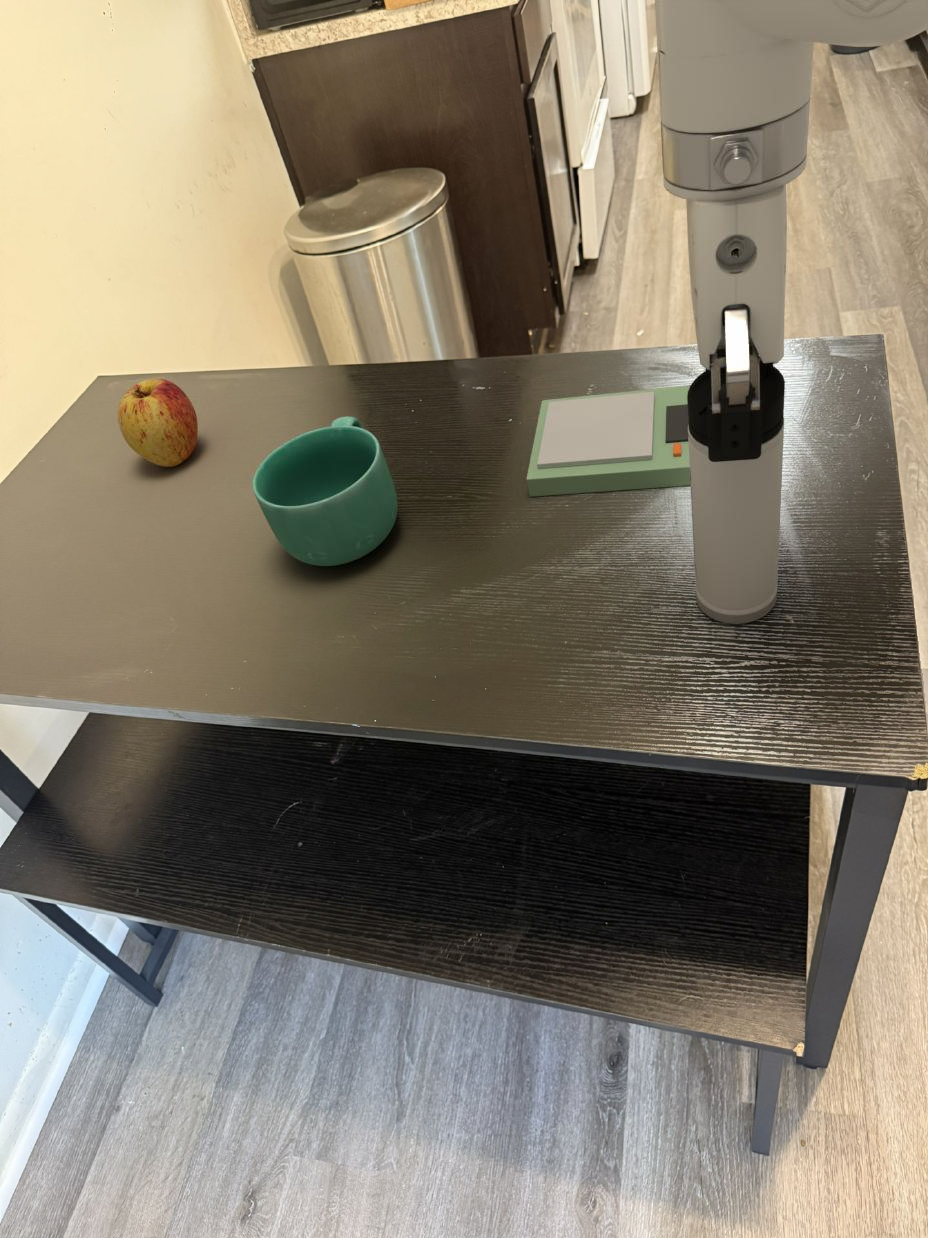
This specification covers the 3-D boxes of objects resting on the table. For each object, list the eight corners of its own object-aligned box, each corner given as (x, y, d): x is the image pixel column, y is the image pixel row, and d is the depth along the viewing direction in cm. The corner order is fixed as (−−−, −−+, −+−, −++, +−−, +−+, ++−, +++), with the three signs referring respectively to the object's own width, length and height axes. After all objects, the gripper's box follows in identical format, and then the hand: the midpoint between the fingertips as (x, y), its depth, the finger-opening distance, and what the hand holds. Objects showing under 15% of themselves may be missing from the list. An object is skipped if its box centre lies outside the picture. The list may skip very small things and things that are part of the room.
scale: (695, 402, 91) (694, 378, 89) (697, 485, 81) (695, 460, 79) (544, 417, 95) (540, 395, 93) (529, 497, 86) (524, 474, 84)
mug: (382, 585, 81) (351, 506, 75) (267, 582, 85) (228, 507, 79) (433, 477, 92) (410, 399, 85) (329, 478, 96) (299, 405, 90)
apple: (221, 456, 105) (184, 383, 98) (151, 489, 103) (109, 417, 96) (201, 427, 111) (165, 357, 104) (135, 458, 109) (95, 388, 102)
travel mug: (794, 585, 70) (807, 363, 56) (750, 636, 67) (753, 416, 53) (724, 559, 74) (721, 345, 60) (681, 607, 71) (667, 394, 57)
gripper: (825, 198, 40) (802, 491, 52) (793, 81, 52) (780, 343, 63) (659, 221, 42) (673, 498, 54) (664, 104, 54) (675, 354, 65)
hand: (731, 414), depth 59 cm, fingers open, 9 cm apart
